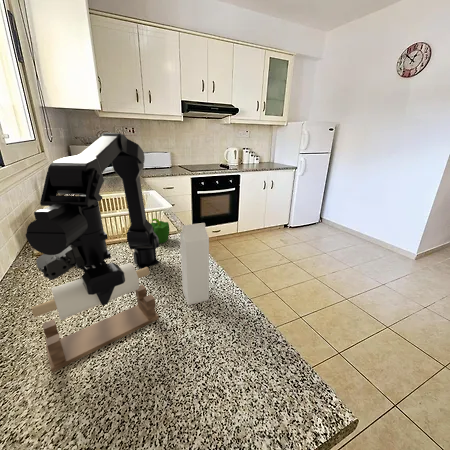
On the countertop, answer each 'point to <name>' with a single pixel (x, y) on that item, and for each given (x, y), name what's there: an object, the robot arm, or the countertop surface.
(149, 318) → the bracket
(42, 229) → the robot arm
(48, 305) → the kitchen roll
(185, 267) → the milk
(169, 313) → the countertop surface
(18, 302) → the countertop surface
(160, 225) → the bell pepper
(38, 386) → the countertop surface
